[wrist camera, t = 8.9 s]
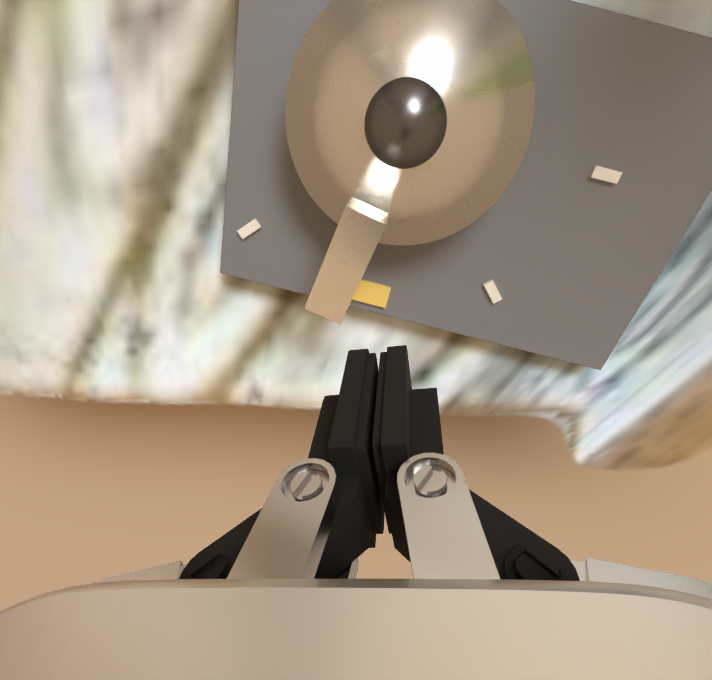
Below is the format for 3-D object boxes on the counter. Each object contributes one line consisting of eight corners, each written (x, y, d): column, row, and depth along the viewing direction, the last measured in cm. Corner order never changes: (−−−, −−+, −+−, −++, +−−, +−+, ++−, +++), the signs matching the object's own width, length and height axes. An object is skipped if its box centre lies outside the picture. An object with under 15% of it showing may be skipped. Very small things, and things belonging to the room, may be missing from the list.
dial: (345, -72, 16) (326, -122, 13) (573, 49, 17) (616, 34, 14) (249, 246, 23) (219, 271, 19) (419, 321, 24) (420, 359, 20)
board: (228, 265, 25) (218, 273, 24) (259, -131, 17) (247, -150, 16) (592, 359, 25) (601, 371, 24) (799, 11, 17) (829, 4, 16)
